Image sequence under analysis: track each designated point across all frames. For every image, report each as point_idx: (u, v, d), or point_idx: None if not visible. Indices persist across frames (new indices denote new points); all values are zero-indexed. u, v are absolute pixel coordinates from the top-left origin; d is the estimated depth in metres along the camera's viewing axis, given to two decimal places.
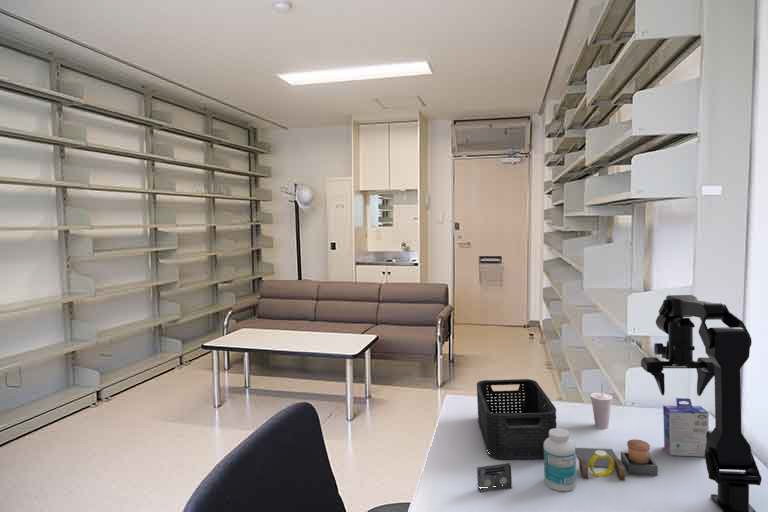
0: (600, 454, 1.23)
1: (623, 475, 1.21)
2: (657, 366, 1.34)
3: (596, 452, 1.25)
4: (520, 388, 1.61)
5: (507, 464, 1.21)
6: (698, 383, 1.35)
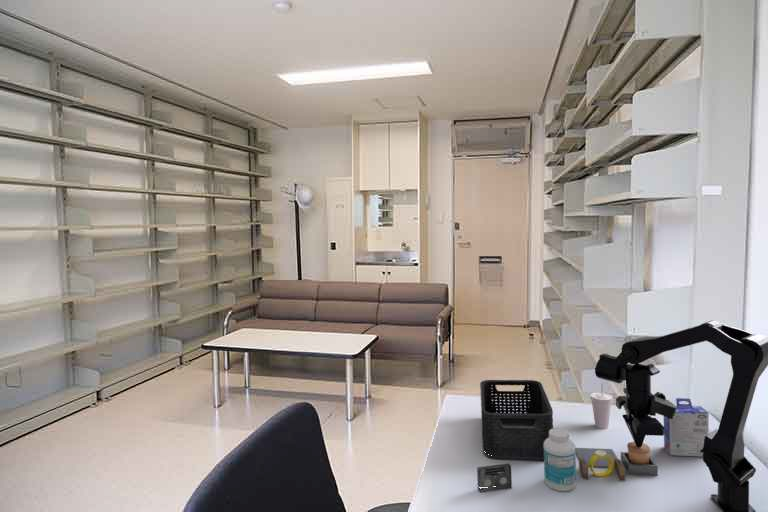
0: (600, 454, 1.23)
1: (623, 475, 1.21)
2: (618, 401, 1.33)
3: (596, 452, 1.25)
4: (525, 389, 1.60)
5: (507, 464, 1.21)
6: None
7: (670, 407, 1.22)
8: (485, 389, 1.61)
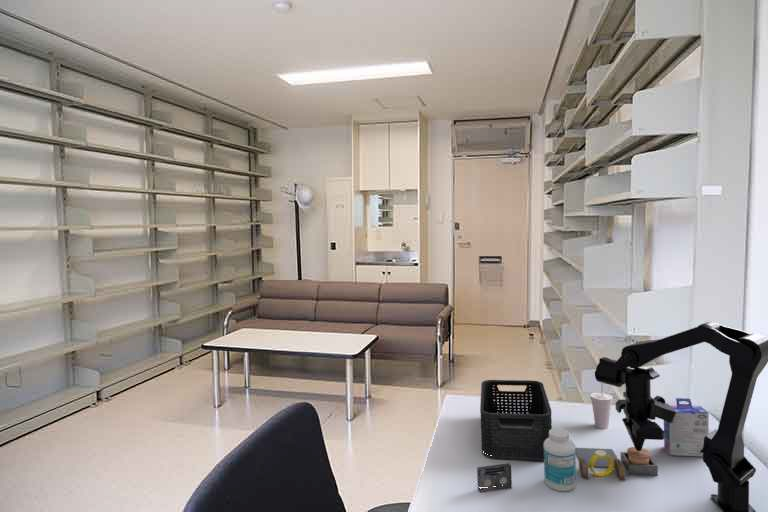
0: (600, 454, 1.23)
1: (623, 475, 1.21)
2: (617, 405, 1.33)
3: (596, 452, 1.25)
4: (527, 389, 1.59)
5: (507, 464, 1.21)
6: None
7: (670, 411, 1.22)
8: (487, 389, 1.61)
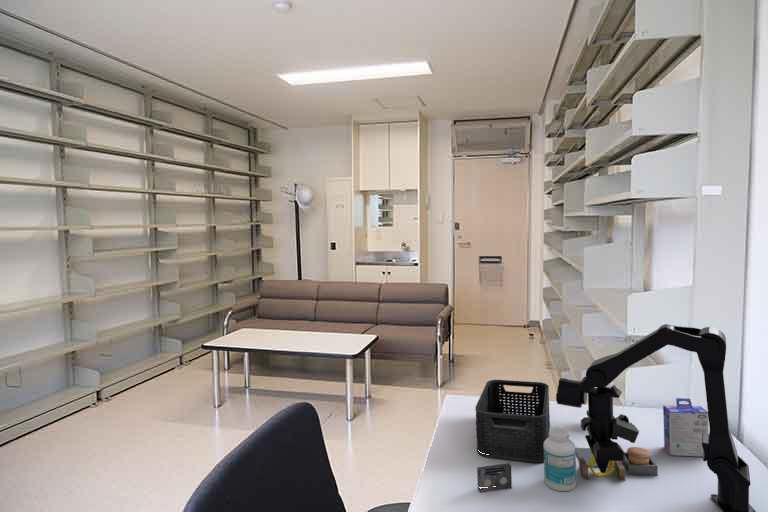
0: None
1: (623, 475, 1.21)
2: (582, 423, 1.31)
3: None
4: (533, 391, 1.58)
5: (507, 464, 1.21)
6: None
7: (632, 431, 1.20)
8: (492, 388, 1.61)
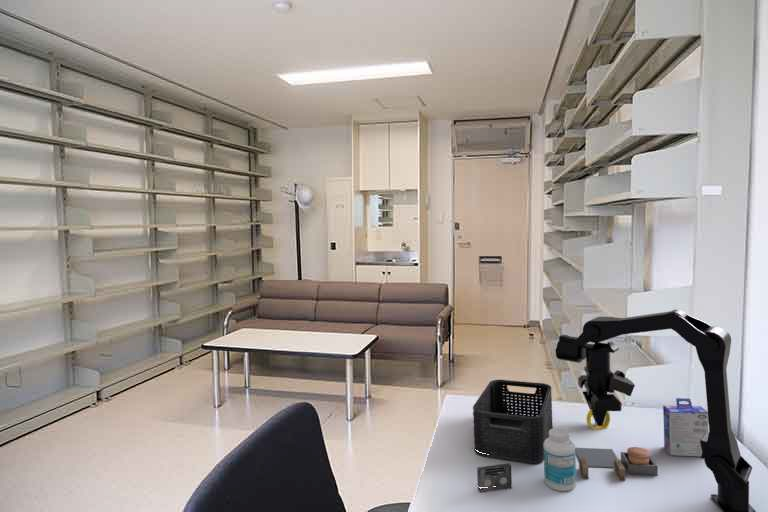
0: None
1: (623, 475, 1.21)
2: (579, 380, 1.35)
3: None
4: (537, 392, 1.57)
5: (507, 464, 1.21)
6: None
7: (628, 384, 1.24)
8: (496, 388, 1.61)
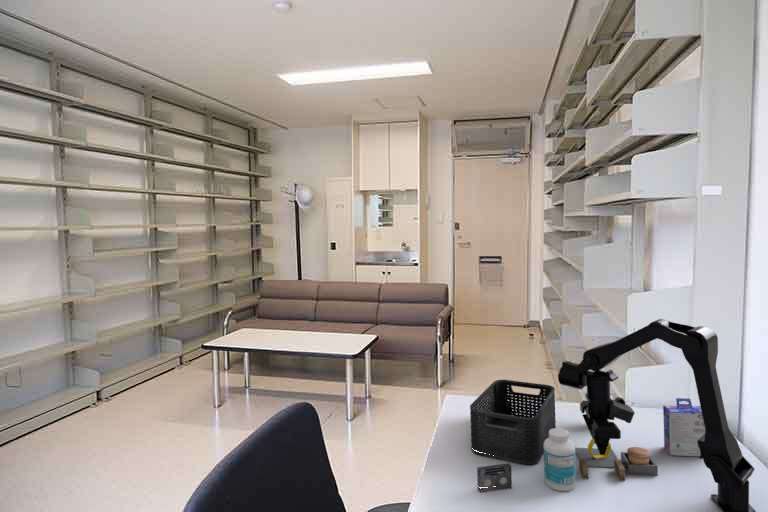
0: None
1: (623, 475, 1.21)
2: (581, 406, 1.39)
3: None
4: (541, 393, 1.55)
5: (507, 464, 1.21)
6: None
7: (628, 412, 1.28)
8: (500, 388, 1.61)
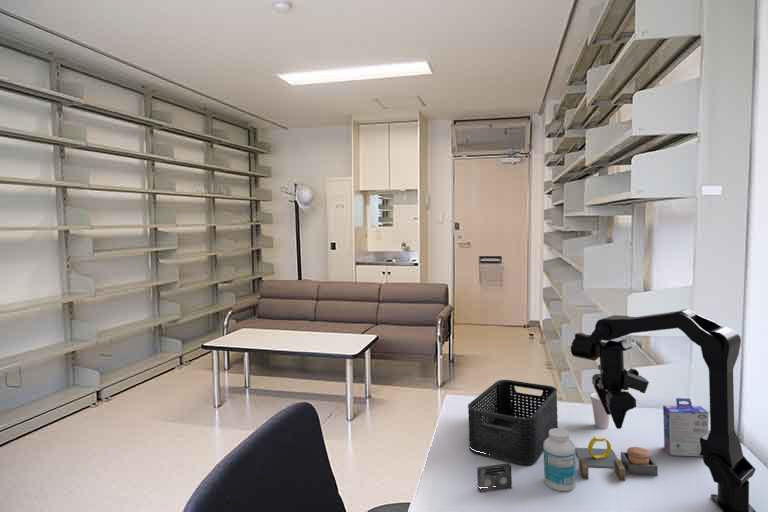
0: (598, 438, 1.31)
1: (623, 475, 1.21)
2: (594, 379, 1.37)
3: (594, 436, 1.33)
4: (543, 394, 1.54)
5: (507, 464, 1.21)
6: None
7: (642, 381, 1.26)
8: (503, 388, 1.60)
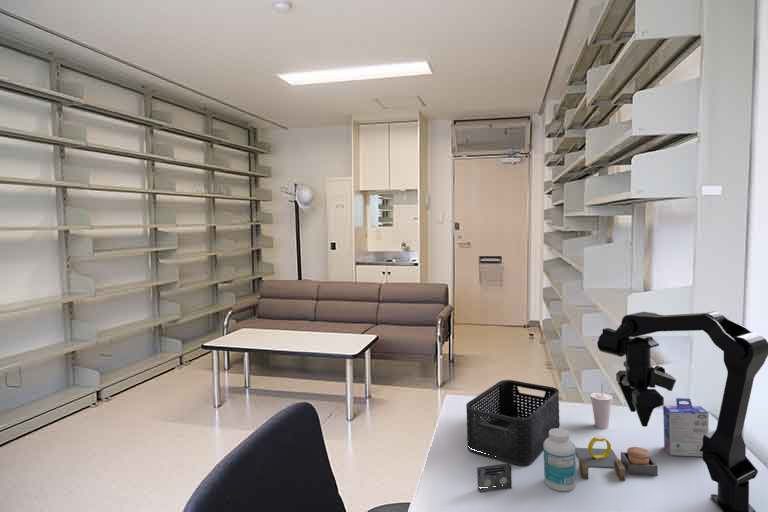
0: (598, 438, 1.31)
1: (623, 475, 1.21)
2: (618, 376, 1.35)
3: (594, 436, 1.33)
4: (546, 395, 1.53)
5: (507, 464, 1.21)
6: None
7: (669, 379, 1.24)
8: (506, 388, 1.60)
